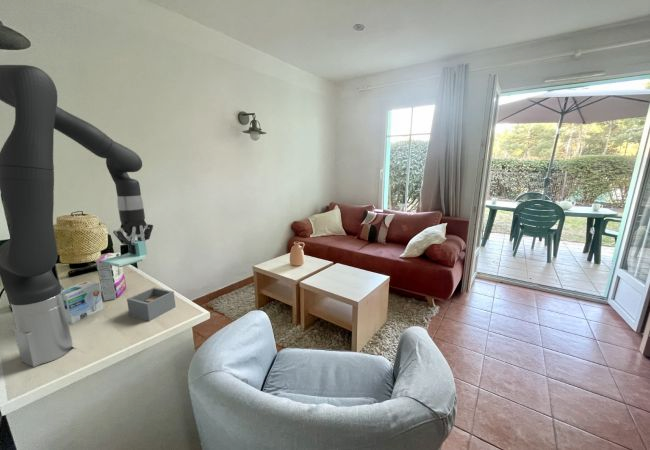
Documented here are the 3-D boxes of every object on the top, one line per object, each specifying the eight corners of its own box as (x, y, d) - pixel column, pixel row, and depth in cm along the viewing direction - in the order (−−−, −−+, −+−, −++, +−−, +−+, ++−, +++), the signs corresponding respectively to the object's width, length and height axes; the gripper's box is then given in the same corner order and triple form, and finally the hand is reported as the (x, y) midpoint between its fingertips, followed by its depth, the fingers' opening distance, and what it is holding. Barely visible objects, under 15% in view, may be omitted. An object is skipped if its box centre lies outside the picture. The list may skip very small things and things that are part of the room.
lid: (119, 268, 90) (116, 250, 88) (101, 264, 93) (98, 247, 92) (150, 258, 100) (148, 242, 99) (133, 255, 103) (131, 239, 102)
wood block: (155, 310, 95) (154, 301, 94) (146, 309, 95) (145, 300, 95) (162, 305, 99) (161, 296, 98) (153, 304, 99) (152, 296, 98)
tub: (149, 323, 88) (147, 304, 87) (129, 317, 92) (126, 298, 90) (175, 309, 97) (173, 291, 96) (156, 304, 101) (154, 287, 100)
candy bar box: (112, 289, 113) (106, 253, 109) (126, 287, 115) (121, 252, 111) (102, 301, 103) (95, 261, 99) (117, 299, 104) (111, 260, 101)
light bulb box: (72, 325, 87) (66, 295, 84) (56, 323, 88) (50, 293, 86) (105, 309, 97) (100, 282, 95) (90, 307, 98) (85, 280, 96)
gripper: (117, 211, 89) (125, 259, 92) (156, 206, 102) (161, 248, 105) (103, 209, 91) (111, 257, 95) (142, 205, 104) (148, 246, 108)
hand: (137, 252), depth 100 cm, fingers closed on lid, 2 cm apart
